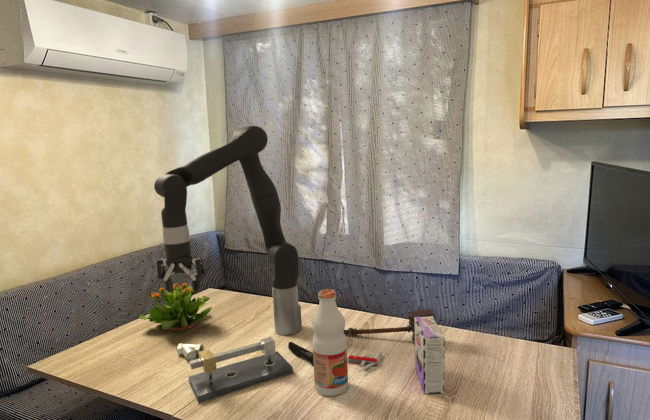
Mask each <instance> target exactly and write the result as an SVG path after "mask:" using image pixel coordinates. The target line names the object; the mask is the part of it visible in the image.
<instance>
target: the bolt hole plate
mask: <svg viewBox="0 0 650 420" xmlns="http://www.w3.org/2000/svg"><path fill="white" fill-rule="evenodd" d="M275 352H276V353H274V354H271V362H268V358H267V356H265V355H264V354H263V355H259V356H255V357H252V358H248V359H245V360H241V361H238V362H235V363H230V364H228V365H224V366H220V367H218V368H217V367H216V368H217V370H215V371H212V380H209V377H208V373H205V372H204V371H202V372H199V373H196V374H192V375H190V376H188V383H189V385H190V388H191V390H192V392H193V394H194V396H195V399H196V401H197V403H198V404H200V403H203V402H206V401H209V400H212V399H216V398H218V397H222V396H225V395H228V394H231V393H235V392H238V391H241V390H244V389H247V388H251V387H253V386H256V385H260V384H262V383H266V382H269V381H273V380H275V379H280V378H282V377H285V376H288V375H291V374H294V372H293V371H294V368H293V366H292V365H291V364H290V363H289V362H288V361H287V360H286V358H284V356H283V355H282V354H281V353H280V352H279V351H277V350H275Z"/></svg>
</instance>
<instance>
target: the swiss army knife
mask: <svg viewBox="0 0 650 420" xmlns="http://www.w3.org/2000/svg"><path fill="white" fill-rule="evenodd" d="M382 354H383V353H382V351H380V352H378V354H377V356H376V358H375V356H371V355H370V354H369V355H368V354H366V355H363V356H359V355H353V354H351V355H348V356H347V362H348V363H349V364H354V365H359V367H362V366H363V368H361V369H360V370H358V373H360V372H362V371H363V372H364V371H365V370H366V369H369V368H371V367H377V366H378V363H379V361H380V359H381V357H382Z"/></svg>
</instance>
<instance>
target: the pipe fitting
mask: <svg viewBox="0 0 650 420" xmlns="http://www.w3.org/2000/svg"><path fill="white" fill-rule="evenodd" d="M204 350H205V347H204V344H203V343H202V344H201V343H200V344H199V343H195V344H194V343H183V342H182V343H178V344H177V348H176V353H177V355H183V356H184V358H185V359H186V360H187V361H189V362H190V361H192V360H195V359H196V357H197V356H199V353H198V352H200V351H204Z"/></svg>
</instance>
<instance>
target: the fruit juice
mask: <svg viewBox="0 0 650 420" xmlns="http://www.w3.org/2000/svg"><path fill="white" fill-rule="evenodd" d="M317 297H318V300H319V301H318V302H319V304H318V308H317V311H316V312H315V314H314V315H313V317H312V320H311V327H312V330H313V337H312V353H313V363H314V366H313V377H314V379H313V380H314V388H315V391H316V392H317V393H318V394H320V395H321V396H327V397H336V396H339V395H341V394H344V393H345V392H346V391H347V390H348V387H349V375H348V374H349V373H348V369H349V368H348V360H347V357H348V352H347V351H348V345H347V337H346V335H345V334H344V330H345V327H346V320H345V316H344V315H343V313H342V312H340V310H339V308H338V306H337V302H336V298H337V291H336V290H335V289H333V288H332V289H331V288H326V289H321V290H318V292H317Z"/></svg>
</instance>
